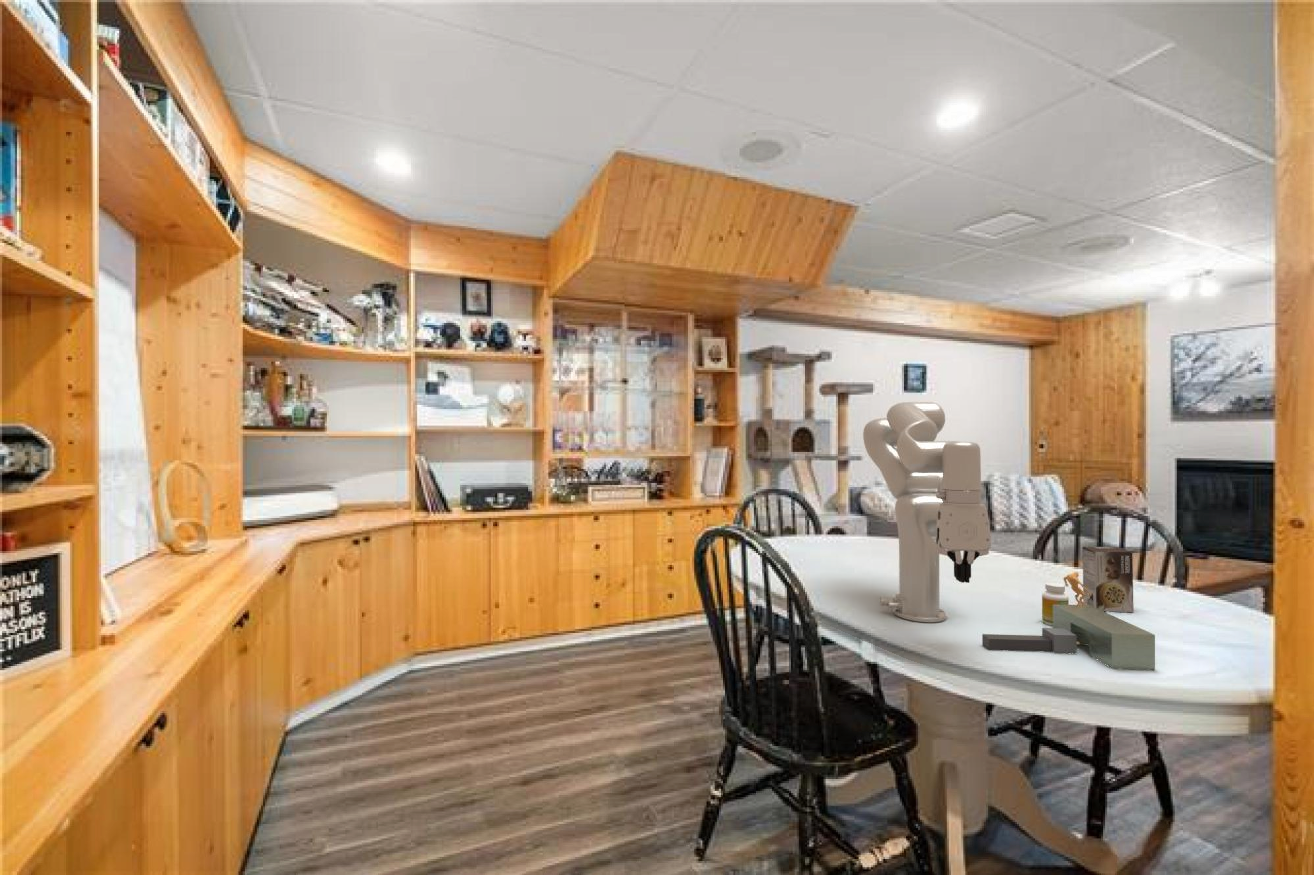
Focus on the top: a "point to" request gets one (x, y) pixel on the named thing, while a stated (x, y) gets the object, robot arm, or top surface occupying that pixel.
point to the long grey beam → (1034, 641)
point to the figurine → (1076, 587)
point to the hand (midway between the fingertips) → (962, 581)
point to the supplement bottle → (1052, 600)
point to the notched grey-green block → (1107, 636)
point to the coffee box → (1108, 578)
